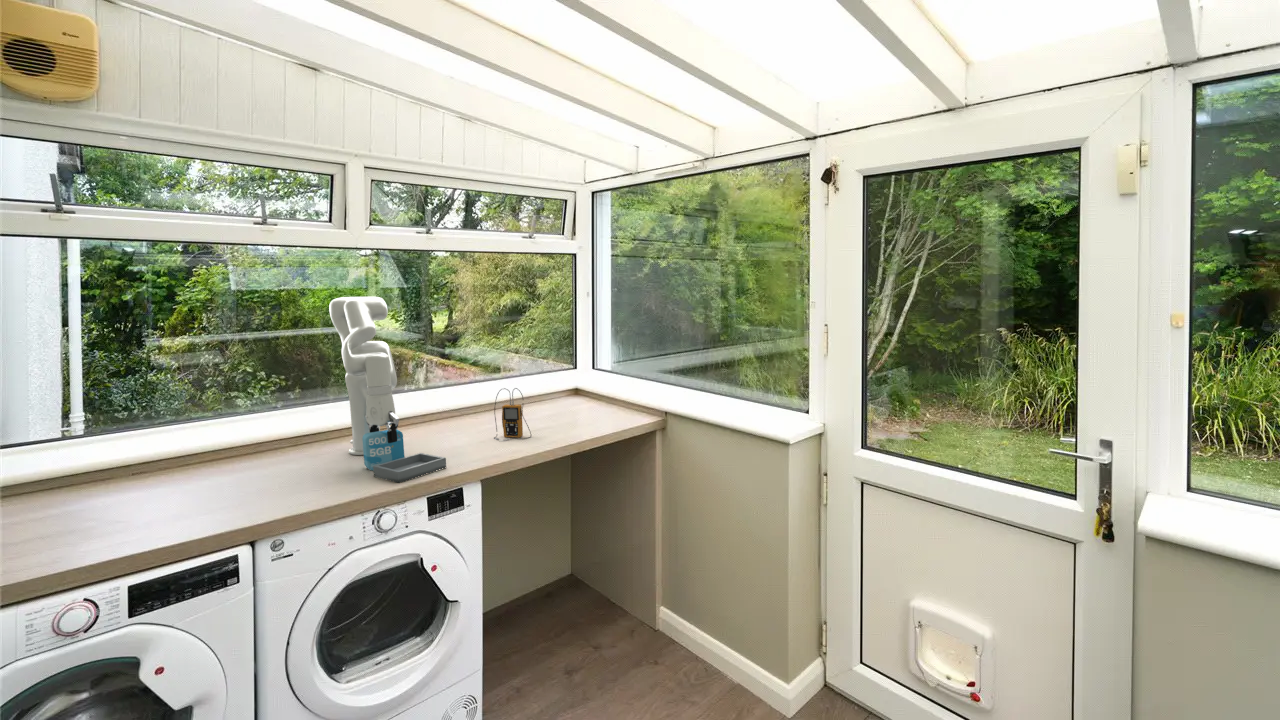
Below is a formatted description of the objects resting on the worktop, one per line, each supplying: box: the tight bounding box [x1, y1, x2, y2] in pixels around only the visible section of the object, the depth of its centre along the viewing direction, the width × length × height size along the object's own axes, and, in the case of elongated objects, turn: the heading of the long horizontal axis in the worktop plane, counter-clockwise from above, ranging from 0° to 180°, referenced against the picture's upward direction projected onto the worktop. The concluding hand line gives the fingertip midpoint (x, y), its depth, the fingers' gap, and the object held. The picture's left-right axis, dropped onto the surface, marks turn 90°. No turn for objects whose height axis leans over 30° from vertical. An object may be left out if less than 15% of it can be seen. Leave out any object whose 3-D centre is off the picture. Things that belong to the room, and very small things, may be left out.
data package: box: [362, 429, 405, 471], centre depth 202 cm, size 12×4×12 cm, turn 129°
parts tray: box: [372, 452, 447, 484], centre depth 194 cm, size 13×18×4 cm
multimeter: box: [493, 387, 532, 442], centre depth 235 cm, size 15×10×20 cm
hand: (383, 441), depth 200 cm, fingers open, 9 cm apart
